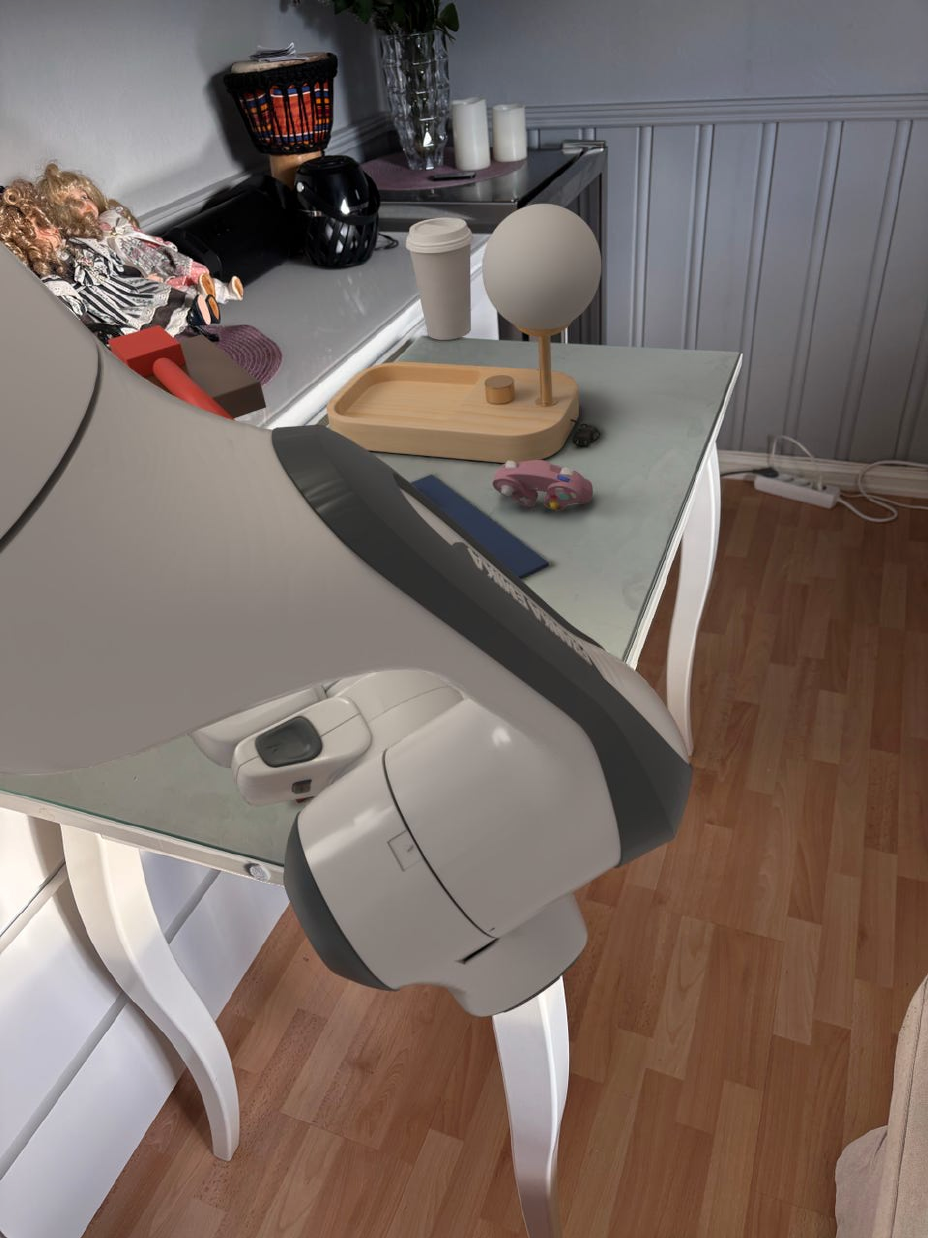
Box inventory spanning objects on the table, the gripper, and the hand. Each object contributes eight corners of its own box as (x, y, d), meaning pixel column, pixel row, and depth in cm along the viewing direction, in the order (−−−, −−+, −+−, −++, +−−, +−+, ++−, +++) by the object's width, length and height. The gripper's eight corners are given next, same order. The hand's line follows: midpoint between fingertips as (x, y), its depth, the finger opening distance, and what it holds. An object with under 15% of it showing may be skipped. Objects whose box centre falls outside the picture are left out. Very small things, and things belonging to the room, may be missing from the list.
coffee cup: (493, 331, 133) (485, 224, 124) (437, 349, 130) (424, 241, 121) (460, 313, 140) (450, 211, 131) (406, 331, 137) (391, 227, 127)
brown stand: (223, 710, 76) (119, 427, 59) (177, 637, 84) (75, 372, 68) (330, 660, 79) (260, 381, 63) (276, 595, 88) (202, 333, 71)
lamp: (316, 446, 111) (269, 230, 95) (374, 385, 123) (340, 184, 107) (583, 471, 100) (580, 233, 84) (616, 401, 112) (619, 181, 97)
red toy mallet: (264, 436, 57) (258, 412, 56) (204, 457, 55) (197, 433, 54) (165, 344, 70) (159, 324, 69) (114, 359, 69) (107, 339, 68)
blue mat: (443, 615, 83) (442, 612, 83) (336, 515, 98) (336, 512, 98) (549, 565, 87) (548, 562, 87) (431, 477, 102) (431, 474, 102)
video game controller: (498, 515, 98) (482, 479, 92) (510, 479, 99) (495, 441, 93) (587, 527, 94) (577, 491, 88) (598, 490, 96) (589, 452, 90)
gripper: (549, 624, 52) (429, 441, 56) (215, 790, 45) (104, 566, 49) (522, 665, 58) (415, 497, 62) (221, 819, 50) (121, 616, 54)
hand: (275, 528), depth 55 cm, fingers open, 8 cm apart
